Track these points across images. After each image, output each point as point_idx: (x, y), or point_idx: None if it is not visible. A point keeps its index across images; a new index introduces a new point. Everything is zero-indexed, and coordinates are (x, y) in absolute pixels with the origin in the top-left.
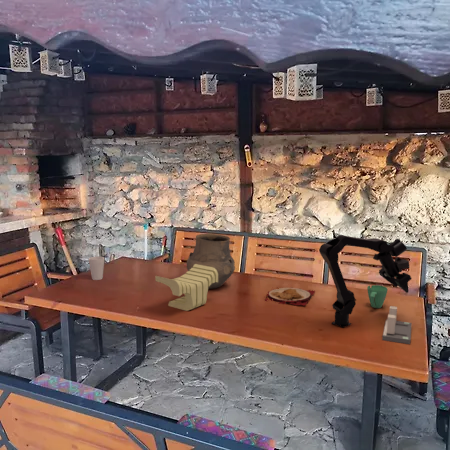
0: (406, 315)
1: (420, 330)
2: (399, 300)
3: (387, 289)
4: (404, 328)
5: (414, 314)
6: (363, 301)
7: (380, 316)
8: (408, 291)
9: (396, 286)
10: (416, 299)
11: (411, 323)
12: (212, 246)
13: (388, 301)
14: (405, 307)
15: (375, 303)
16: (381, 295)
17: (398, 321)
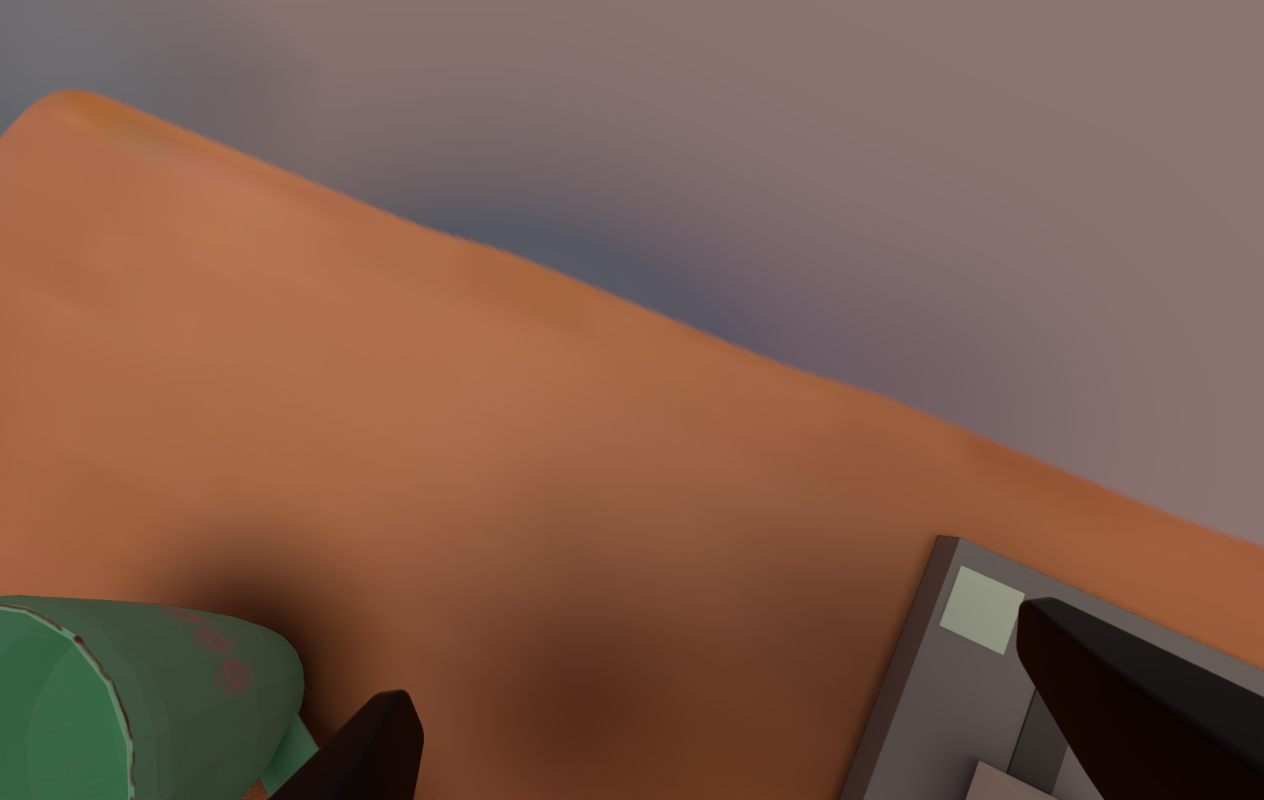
0: (570, 436)
1: (1052, 477)
2: (97, 316)
3: (62, 619)
4: None
5: (543, 333)
6: None
7: (591, 786)
8: (1066, 608)
9: (414, 725)
10: (104, 128)
11: (984, 548)
12: None
13: (104, 456)
14: (320, 341)
15: (265, 766)
16: (208, 753)
17: (919, 696)
